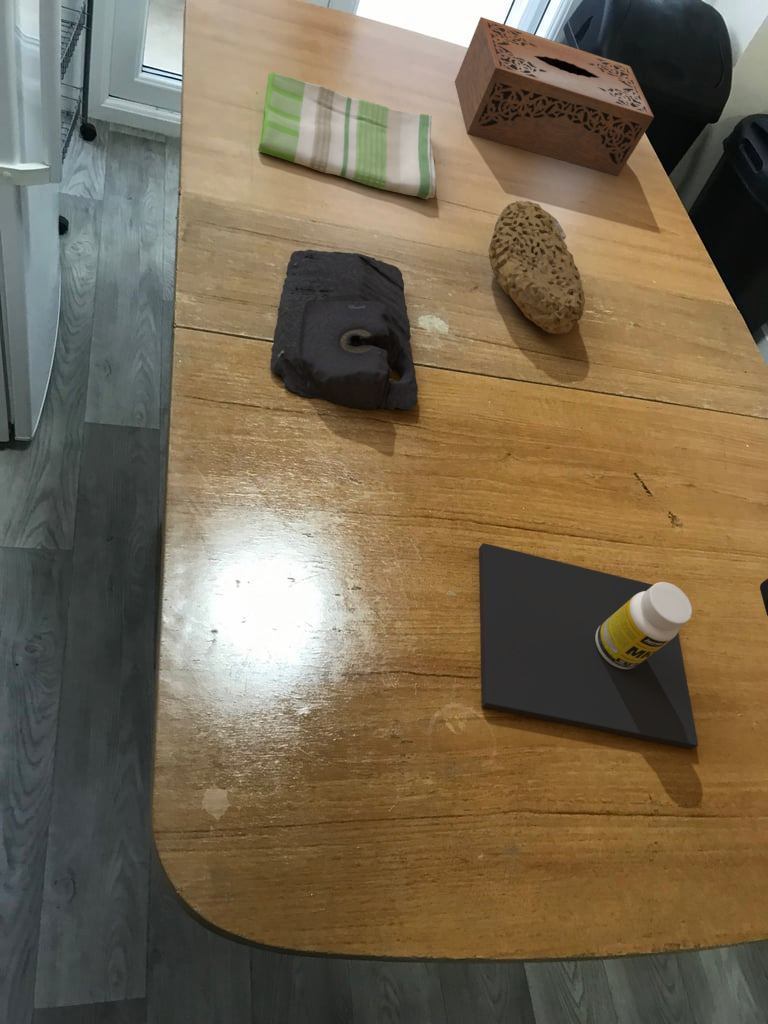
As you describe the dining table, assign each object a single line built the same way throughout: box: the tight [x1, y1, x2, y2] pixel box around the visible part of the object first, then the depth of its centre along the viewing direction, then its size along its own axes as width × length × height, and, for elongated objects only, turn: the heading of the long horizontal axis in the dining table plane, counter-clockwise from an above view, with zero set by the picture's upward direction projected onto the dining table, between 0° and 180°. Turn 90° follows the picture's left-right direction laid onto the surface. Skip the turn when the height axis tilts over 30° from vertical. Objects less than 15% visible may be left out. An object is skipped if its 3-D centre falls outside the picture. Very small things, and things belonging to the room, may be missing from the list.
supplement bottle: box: [595, 581, 693, 669], centre depth 73 cm, size 5×5×8 cm
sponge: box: [488, 200, 586, 335], centre depth 103 cm, size 13×8×20 cm
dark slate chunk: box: [269, 249, 419, 411], centre depth 88 cm, size 15×22×5 cm
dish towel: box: [257, 71, 437, 200], centre depth 110 cm, size 17×23×4 cm
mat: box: [478, 542, 699, 750], centre depth 76 cm, size 20×16×1 cm
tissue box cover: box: [454, 16, 655, 177], centre depth 127 cm, size 26×14×10 cm, turn 95°
